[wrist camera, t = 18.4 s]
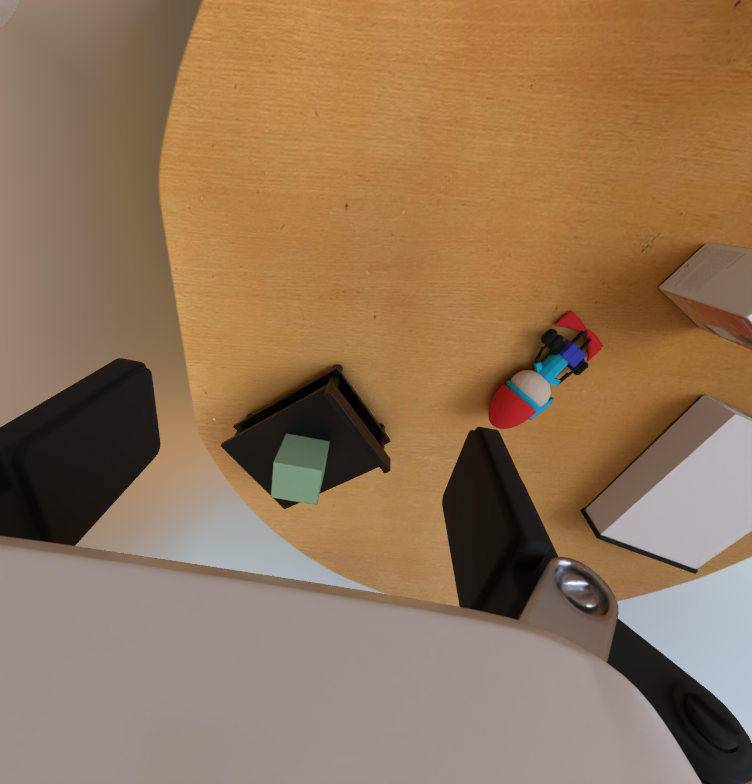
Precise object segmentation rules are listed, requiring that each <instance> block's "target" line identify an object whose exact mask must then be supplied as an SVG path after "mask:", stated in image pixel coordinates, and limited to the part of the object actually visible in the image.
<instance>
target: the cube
mask: <svg viewBox="0 0 752 784" xmlns="http://www.w3.org/2000/svg"><path fill="white" fill-rule="evenodd" d="M329 443H330V442H329V441H324V440H319V439H313V438H308V437H302V436H297V435H291V434H286V435H285V437H284V440H283V442H282V444H281V447H280V449H279V451H278V453H277V456H276V458H275V460H274V463H273V476H272V489H271V497H272V498H278V499H284V500H290V501H296V502H302V503H307V504H313V505H317V502H318V498H319V493H320V489H321V485H322V481H323V476H324V472H325V466H326V460H327V454H328V448H329Z"/></svg>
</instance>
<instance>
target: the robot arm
mask: <svg viewBox="0 0 752 784" xmlns="http://www.w3.org/2000/svg"><path fill="white" fill-rule="evenodd" d="M159 449H160V437H159V429H158V421H157V413H156V405H155V397H154V388H153V381H152V374H151V371H150V370H149V369H147V368H146V366H145V364H144V363H142V362H138V361H133V360H127V359H121V358H119V359H116V360H114V361H113V362H111V363H109V364H107V365H106V366H104V367H102V368H101V369H99V370H97V371H95V372H94V373H92V374H90V375H89V376H87V377H85V378H84V379H82V380H80V381H78V382H77V383H75V384H73V385H72V386H70V387H68V388H67V389H65V390H63V391H61V392H60V393H58V394H56V395H55V396H53V397H51V398H50V399H48V400H46V401H44V402H43V403H41V404H39V405H38V406H36V407H34V408H33V409H31V410H29V411H28V412H26V413H24V414H23V415H21V416H19V417H17V418H16V419H14V420H12V421H11V422H9V423H7V424H5V425H4V426H2V427H0V784H752V743H751V740H750V738H749V736H748V735H747V734H746V732H745V730H744V729H743V727H742V726H741V724H740V723H739V721H738V720H737V719H736V718H735V716H734V715H733V714H732V713H731V712H730V711H729V710H728V708H727V707H726V706H725V705H724V704H723V703H722V702H721V701H720V700H718V699H717V698H716V697H715V696H714V695H713V694H712V693H711V692H710V691H708V690H707V689H706V688H705V687H703V686H702V685H701V684H699V683H698V682H697V681H696V680H695V679H693V678H692V677H691V676H690V675H688V674H687V673H686V672H685V671H683V670H682V669H681V668H680V667H678V666H677V665H676V664H674V663H673V662H672V661H671V660H669V659H668V658H667V657H666V656H664V655H663V654H662V653H661V652H659V651H658V650H657V649H656V648H654V647H653V646H652V645H651V644H649V643H648V642H647V641H646V640H644V639H643V638H642V637H641V636H639V635H638V634H637V633H635V632H634V631H633V630H631V629H630V628H629V627H628V626H627V625H625V624H624V623H623V622H622V621H620V620H619V619H618V604H617V601H616V598H615V595H614V594H613V592H612V591H611V589H610V588H609V586H608V585H607V584H606V583H605V581H604V580H603V579H602V578H601V577H600V576H599V575H598V574H597V573H595V572H594V571H593V570H592V569H590V568H589V567H588V566H586V565H584V564H582V563H581V562H579V561H576V560H573V559H570V558H565V557H558V555H557V553H556V551H555V549H554V547H553V545H552V542H551V540H550V538H549V536H548V534H547V532H546V530H545V528H544V525H543V523H542V521H541V519H540V517H539V515H538V513H537V511H536V508H535V506H534V504H533V502H532V500H531V498H530V496H529V494H528V491H527V489H526V487H525V485H524V483H523V482H522V480H521V478H520V476H519V474H518V471H517V469H516V467H515V465H514V463H513V461H512V459H511V456H510V454H509V452H508V450H507V448H506V446H505V444H504V442H503V439H502V437H501V435H500V433H499V431H498V430H494V429H489V428H484V427H477V428H476V430H475V431H474V430H471V431H470V432H469V433H468V436H467V438H466V440H465V443H464V445H463V448H462V450H461V453H460V455H459V458H458V460H457V463H456V465H455V467H454V470H453V472H452V475H451V477H450V480H449V482H448V485H447V487H446V490H445V492H444V495H443V501H442V505H443V512H444V517H445V523H446V529H447V535H448V541H449V546H450V552H451V558H452V564H453V570H454V575H455V581H456V587H457V593H458V599H459V605H460V607H457V606H451V605H446V604H440V603H434V602H429V601H423V600H418V599H412V598H406V597H400V596H394V595H387V594H381V593H375V592H369V591H362V590H356V589H350V588H344V587H338V586H331V585H324V584H318V583H312V582H306V581H300V580H294V579H287V578H281V577H274V576H268V575H262V574H255V573H248V572H242V571H236V570H229V569H223V568H216V567H210V566H203V565H197V564H190V563H184V562H177V561H171V560H164V559H158V558H151V557H143V556H138V555H131V554H124V553H117V552H111V551H103V550H97V549H90V548H84V547H77V546H75V545H76V544H77V543H78V542H79V540H81V538H82V537H83V536H84V535H85V534H86V533H87V532H88V531H89V530H90V529H91V527H92V526H93V525H94V524H95V523H96V522H97V521H98V520H99V518H100V517H101V516H102V515H103V514H104V513H105V512H106V511H107V510H108V509H109V507H110V506H111V505H112V504H113V503H114V502H115V501H116V500H117V499H118V498H119V496H120V495H121V494H122V493H123V492H124V491H125V490H126V489H127V488H128V487H129V485H130V484H131V483H132V482H133V481H134V480H135V478H137V477H138V476H139V474H140V473H141V472H142V471H143V470H144V469H145V468H146V467H147V465H148V464H149V463H150V462H151V461H152V460H153V459H154V458H155V457H156V455H157V454H158V452H159Z"/></svg>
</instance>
